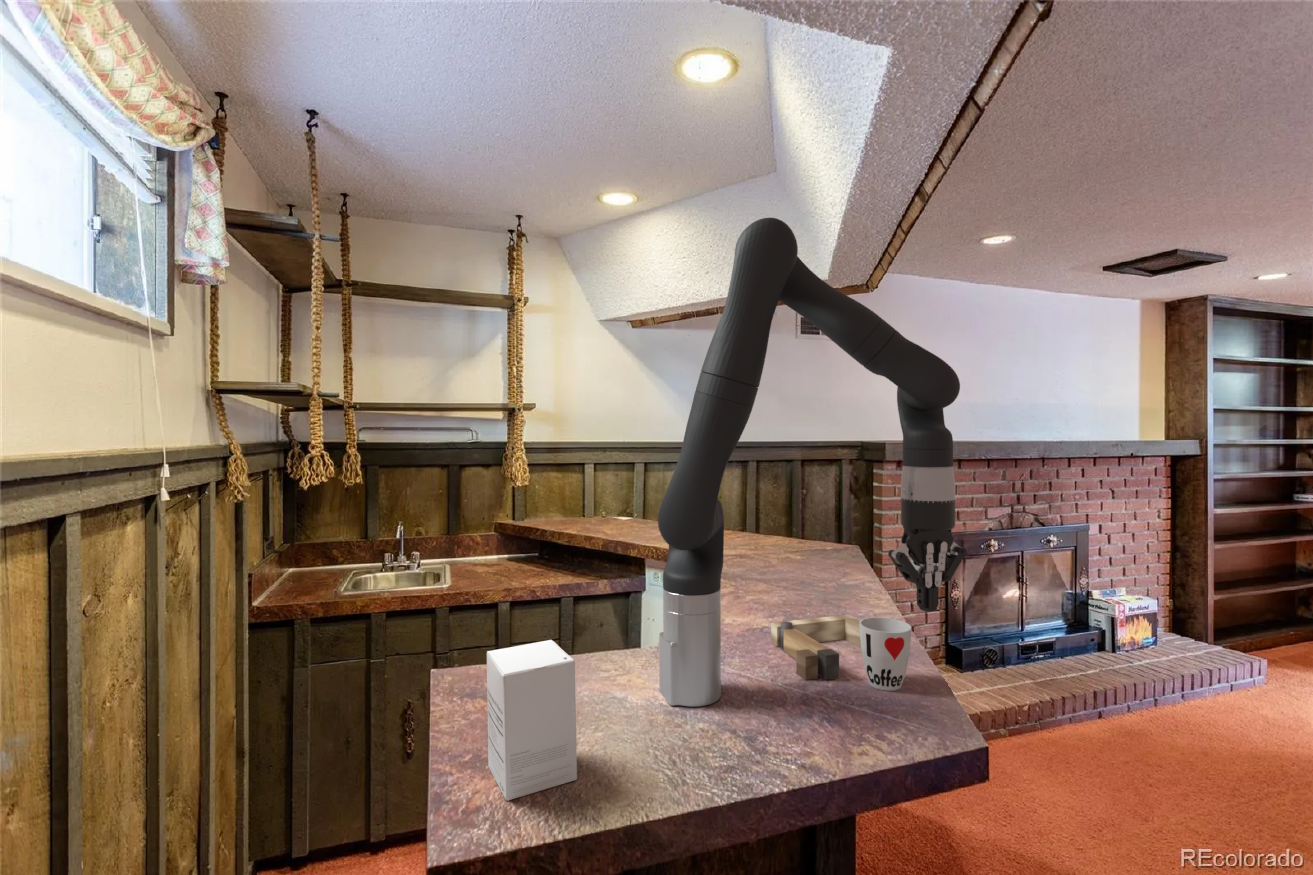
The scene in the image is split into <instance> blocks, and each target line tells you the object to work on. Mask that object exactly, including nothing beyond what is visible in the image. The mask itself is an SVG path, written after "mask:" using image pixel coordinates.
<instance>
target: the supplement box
mask: <svg viewBox="0 0 1313 875" xmlns="http://www.w3.org/2000/svg"><path fill="white" fill-rule="evenodd" d="M486 680H487V681H486V689H487V690H486V692H487V695H486V696H487V698H486V699H487V746H488V748H487V750H488V752H487V753H488V754H487V756H488V760H487V761H488V764H487V765H488V768H489V770H490V773H491V774H492V776H493V778H494V779H495V782H496V784H497V785H498V787H499V789H500V791H501V793H502V795H503V797H504V799H505V801H511V800H514V799H517V798H521V797H525V796H527V795H531V794H534V793H537V792H541V791H544V790H548V789H550V788H551V789H552V788H554V787H558V786H560V785H563V784H568V783H571V782H573V781H576V780H577V779H578V765H577V764H578V762H577V761H578V760H577V756H578V755H577V710H576V699H577V698H576V661H575V659H574V658H572V657H571V656H570V655H569V654H568V653H567V652H566V651H564V650H563V649H562V648H561V647H560V645H559V644H557V643H556V642H555V641H554V640H552V639H548V640H543V641H536V642H532V643H526V644H519V645H514V646H511V647H503V648H499V649H493V650H487V651H486Z"/></svg>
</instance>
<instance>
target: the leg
mask: <svg viewBox="0 0 1313 875" xmlns="http://www.w3.org/2000/svg"><path fill="white" fill-rule="evenodd" d="M780 622H781V647H780V649H782V650H783V652H785V653H786V654H788V655H789V656H791V657H792V658H793V659H795V660H796V651H797V650H805V649H809V650H811V651H812V652H814V653H816V654H817V655H818V676H820V677H821V678H822V679H824V680H831V679H838V678H839V679H840V653H838V652H837V651H835V650H833V648H829V647H827V646H826V645H824V644H822V642H817V641H816V640H814V639H812V638H810V637H809V636H807V635H805V634H804V633H802V632H800V631H799V630H797V629H795V628H794V629H793V623H791V622H784V621H780Z"/></svg>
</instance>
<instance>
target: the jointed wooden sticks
mask: <svg viewBox="0 0 1313 875" xmlns="http://www.w3.org/2000/svg"><path fill="white" fill-rule="evenodd" d="M861 620H862V619H858V618H857V617H854V616H853V615H850V614H839V615H831V616H821V617H813V618H803V619H794V620H786V621H783V622H791V623H793V629H794V628H795V629H797V630H799V631H800V632H802V633H804V634H805V635H807V636H809V637H810V638H812V639H814V640H816V641H817V642H819V643H822V642H823V643H824V642H831V641H839V640H846V641H848V642H850V643H852V644H854V645H856V646H857V647H858V648H860V649H861V640H860V623H859V622H860V621H861ZM781 622H782V621H776V622H771V623H770V644H772V645H773V646H775V647H776V646H777V647H776V648H781ZM795 661H796V662H795V663H796V668H795V670H796V674H797V675H798V676H799V677H800V678H802V679H803V680H805V681H808V680H816V679H819V675H818V655H817V654H816V653H814V652H812V651H811V650H809V649H805V650H797V651H796V659H795Z"/></svg>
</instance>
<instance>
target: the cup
mask: <svg viewBox="0 0 1313 875" xmlns="http://www.w3.org/2000/svg"><path fill="white" fill-rule="evenodd" d="M860 620H861V621H860V622H859V623H860V640H861V648H860V650H861V651H860V652H861V656H862V657H861V658H862V663H863V668H864V671H865V672H864V673H865V674H866V675H865V676H866V678H867V682H868V684H869V685H870V687H872V688H874V689H877V690H881V691H888V692H890V691H892V692H893V691H894V692H895V691H897V690H901V688H902V686H903V683H904V680H905V676H906V674H907V670H908V664H909V659H910V653H911V643H912V642H911V641H912V625H910V624H909V623H908V622H905V621H903V620H900V619H894V618H889V617H879V616H878V617H876V616H875V617H867V618H866V617H865V618H861V619H860Z"/></svg>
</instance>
